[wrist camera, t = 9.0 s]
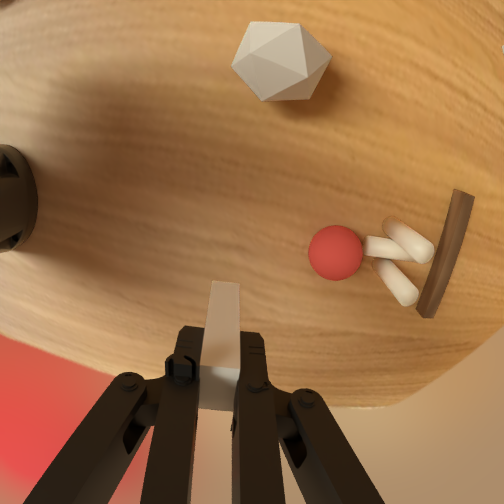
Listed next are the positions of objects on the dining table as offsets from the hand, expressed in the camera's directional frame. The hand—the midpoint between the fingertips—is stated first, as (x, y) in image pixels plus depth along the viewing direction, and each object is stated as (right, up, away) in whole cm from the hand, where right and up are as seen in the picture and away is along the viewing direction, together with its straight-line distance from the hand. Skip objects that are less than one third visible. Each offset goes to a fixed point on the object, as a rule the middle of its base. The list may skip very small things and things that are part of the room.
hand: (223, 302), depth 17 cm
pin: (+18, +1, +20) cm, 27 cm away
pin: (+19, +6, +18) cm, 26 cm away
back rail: (+28, +3, +19) cm, 34 cm away
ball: (+11, +3, +16) cm, 19 cm away
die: (+4, +22, +11) cm, 25 cm away
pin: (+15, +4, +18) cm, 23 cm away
